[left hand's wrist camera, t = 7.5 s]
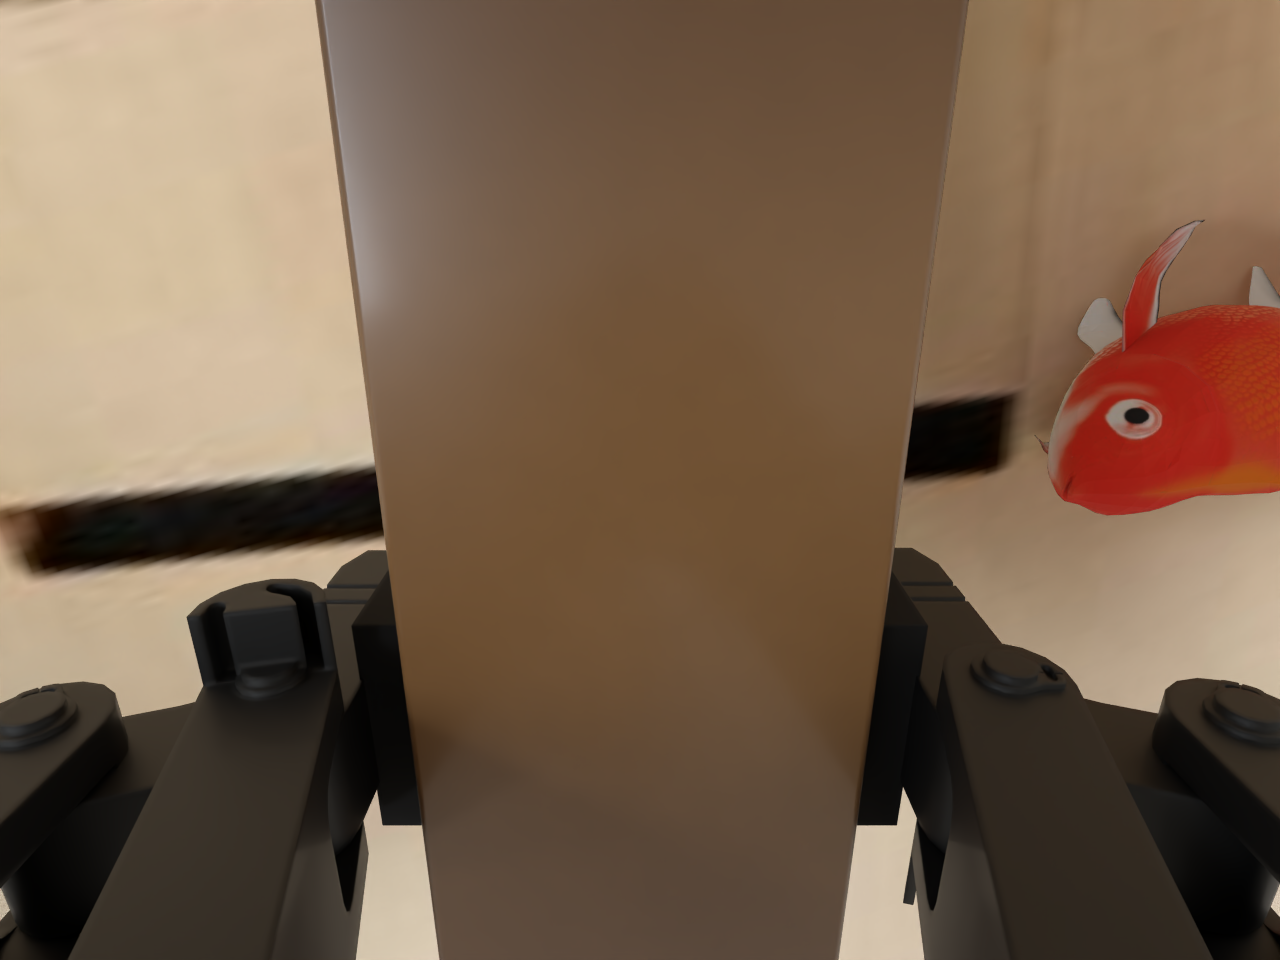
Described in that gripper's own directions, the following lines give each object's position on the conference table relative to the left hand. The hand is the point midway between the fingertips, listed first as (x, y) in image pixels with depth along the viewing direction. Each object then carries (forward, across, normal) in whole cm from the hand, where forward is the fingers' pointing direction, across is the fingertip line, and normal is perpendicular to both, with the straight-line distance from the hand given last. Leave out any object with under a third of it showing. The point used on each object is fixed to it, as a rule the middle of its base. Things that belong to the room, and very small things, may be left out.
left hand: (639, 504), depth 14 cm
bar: (+1, 0, -8) cm, 8 cm away
